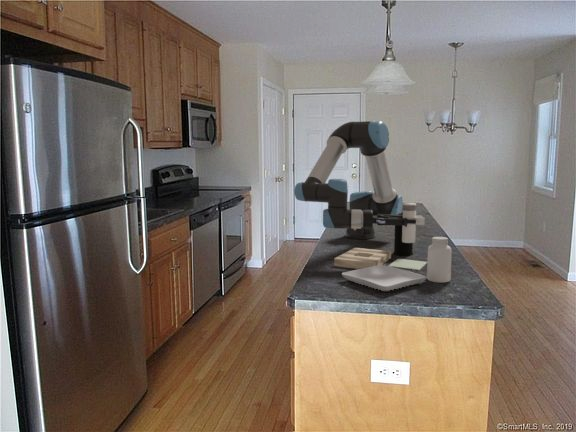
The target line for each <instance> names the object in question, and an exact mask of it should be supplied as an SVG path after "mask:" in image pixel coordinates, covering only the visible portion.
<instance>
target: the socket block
mask: <svg viewBox="0 0 576 432" xmlns="http://www.w3.org/2000/svg"><path fill="white" fill-rule="evenodd" d="M389 259H390V260H391V259H392V251H389V250H381V249H380V250H379V249H371V248H362V247H353V248H351V249H349V250H348V251H346V252H343V253H342V254H340V255H338V256H336V257H334V260H333V261H334V263H333V265H334V267H341V268H348V269H355V270H357V269H362V268H367V267H372V266H377V265H385V264H386V263H387V262H388V261H390V260H389Z"/></svg>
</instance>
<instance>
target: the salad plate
mask: <svg viewBox="0 0 576 432" xmlns="http://www.w3.org/2000/svg"><path fill="white" fill-rule="evenodd" d="M341 275H342V277H343V278H345V279H346V280H348V281H350V282H354V283H355V284H357V283H358V285H360V284H361V286H363V285H365V286H364V287H366V286H368V287H367V288H370V287H371V288H370V289H373V288H374V290H376V289H378V290H377V291H379V290H381V291H380V292H391V291H390V290H392V291H395V290H394V289H396V290H399V288H400V289H402V287H404V288H407V287H410V285H411V286H414V285H417V284H420V283H422V282H424V281H425V280H426V279H427V275H423V274H420V273H416V272H412V271H410V270H407V269H403V268H395V267H390V266H388V265H385V264H383V265H377V266H372V267H367V268H362V269H355V270H354V269H353V270H349V271H344V272H342V273H341ZM406 286H407V287H406Z"/></svg>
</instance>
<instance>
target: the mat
mask: <svg viewBox="0 0 576 432" xmlns="http://www.w3.org/2000/svg"><path fill="white" fill-rule="evenodd" d="M387 266H390V267H394V268H398V269H402V270H411V269H412V270H413V271H421V270H422V269H423V268H424V267H425V266H427V261H422V260H416V259H415V260H413V259H405V258H397V259H395V260H394V261H393V262H391V263H390V264H388V265H387Z"/></svg>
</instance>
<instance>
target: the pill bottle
mask: <svg viewBox="0 0 576 432" xmlns="http://www.w3.org/2000/svg"><path fill="white" fill-rule="evenodd" d="M448 243H449V238H448V237H445V236H433V237H432V238H431V245H429V246H428V248H427V259H426V260H427V261H426V262H427V264H426V268H427V269H426V276H427V278H426V279H427V280H428V281H429V282H433V283H438V284H439V283H442V284H443V283H448V282H451V279H452V253H453V251H452V248H451V246H450V245H448Z"/></svg>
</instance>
